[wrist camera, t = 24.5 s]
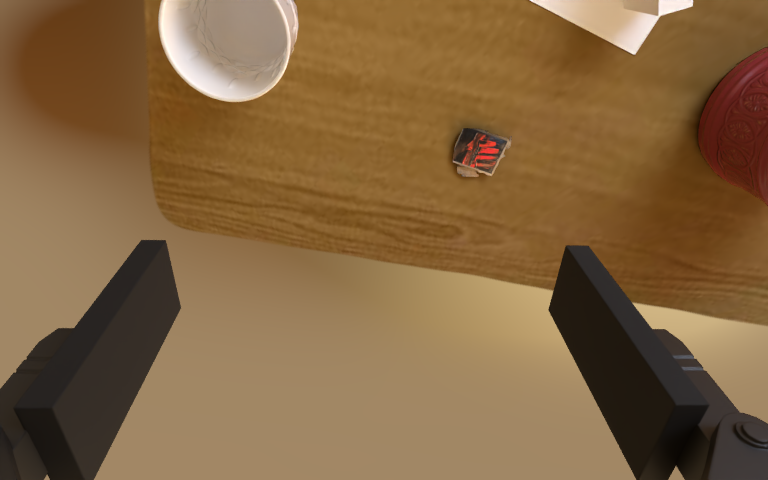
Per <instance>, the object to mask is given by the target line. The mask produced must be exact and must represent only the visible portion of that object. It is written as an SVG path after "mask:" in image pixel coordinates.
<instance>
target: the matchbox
mask: <svg viewBox="0 0 768 480" xmlns="http://www.w3.org/2000/svg"><path fill="white" fill-rule="evenodd" d="M487 132H488V131H486V130H485V131H483V130H481V129H470V128H463V130H462V132H461V133H460V136H459V138H458V141H457V142H456V145H455V148H454V155H453V162H454V163H456V164H459V165H460V166H465V167H462V168H461V167H460V166H457V170H458V174H459V173H460V174H461V173H462V175H461V176H465V177H466V176H467V177H479V174H476V173H477V172H476V171H478V172H479V173H485V174H486V175H490V176H492V174H493V173H494V171H495V169H496V167H497V165H499V161H500V159H501V158H502V157H505V155H503V153H504V151H505V148H507V149H508V148H509V147H510V145H511V140H512V139H511V140H508V138H506V137H500V136H499V135H494V134H491V133H487ZM511 137H512V136H511ZM455 141H456V140H455ZM467 167H468V168H467ZM470 168H471V169H470Z"/></svg>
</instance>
